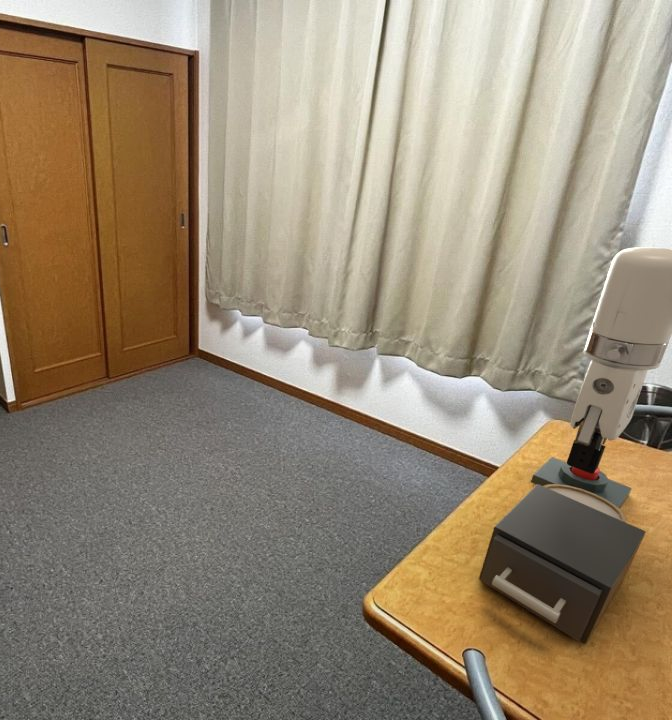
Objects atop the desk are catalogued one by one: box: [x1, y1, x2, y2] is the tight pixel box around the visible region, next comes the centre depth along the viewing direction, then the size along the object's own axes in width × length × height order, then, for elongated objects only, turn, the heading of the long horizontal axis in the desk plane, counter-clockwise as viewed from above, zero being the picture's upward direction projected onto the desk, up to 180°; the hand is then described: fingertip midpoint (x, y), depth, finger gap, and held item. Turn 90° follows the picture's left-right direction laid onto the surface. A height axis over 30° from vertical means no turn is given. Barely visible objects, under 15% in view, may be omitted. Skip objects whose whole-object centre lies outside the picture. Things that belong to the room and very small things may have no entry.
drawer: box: [480, 535, 602, 642], centre depth 63 cm, size 17×11×8 cm, turn 127°
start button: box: [571, 467, 601, 481], centre depth 83 cm, size 4×4×2 cm
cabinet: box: [478, 484, 647, 645], centre depth 65 cm, size 15×13×10 cm
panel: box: [530, 456, 633, 509], centre depth 84 cm, size 12×9×4 cm
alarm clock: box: [544, 484, 628, 523], centre depth 75 cm, size 11×5×15 cm
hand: (581, 466), depth 67 cm, fingers closed
